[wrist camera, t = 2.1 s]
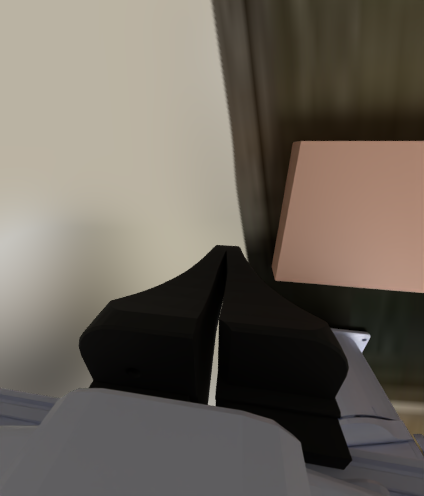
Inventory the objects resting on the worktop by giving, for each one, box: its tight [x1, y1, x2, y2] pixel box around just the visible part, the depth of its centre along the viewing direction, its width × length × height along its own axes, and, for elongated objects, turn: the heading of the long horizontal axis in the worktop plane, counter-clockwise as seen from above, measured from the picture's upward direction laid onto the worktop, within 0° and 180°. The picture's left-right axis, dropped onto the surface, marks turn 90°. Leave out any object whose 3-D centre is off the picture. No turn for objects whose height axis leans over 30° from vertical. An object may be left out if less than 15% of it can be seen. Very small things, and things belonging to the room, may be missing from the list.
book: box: [272, 141, 424, 293], centre depth 17 cm, size 12×15×3 cm
